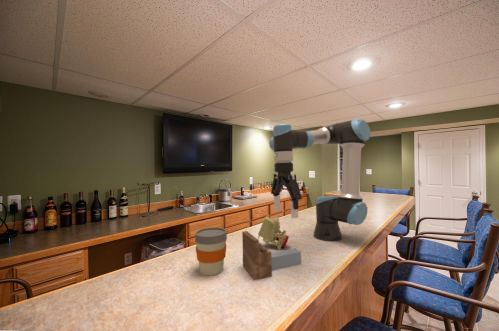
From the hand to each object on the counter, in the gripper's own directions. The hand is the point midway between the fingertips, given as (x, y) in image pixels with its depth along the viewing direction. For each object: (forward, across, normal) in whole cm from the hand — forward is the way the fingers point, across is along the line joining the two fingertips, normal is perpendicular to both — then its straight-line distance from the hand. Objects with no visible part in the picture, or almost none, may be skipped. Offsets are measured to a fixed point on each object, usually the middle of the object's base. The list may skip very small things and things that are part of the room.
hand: (285, 214), depth 86 cm
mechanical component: (+21, -19, +6) cm, 29 cm away
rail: (+21, -1, -4) cm, 21 cm away
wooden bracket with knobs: (+21, -1, -12) cm, 24 cm away
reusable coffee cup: (+20, -8, -30) cm, 37 cm away
